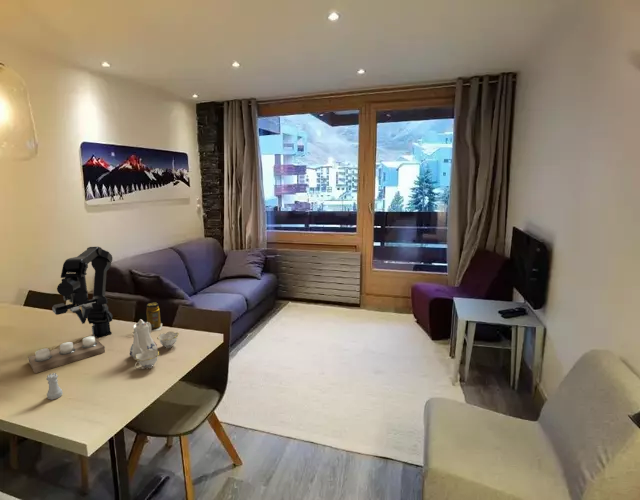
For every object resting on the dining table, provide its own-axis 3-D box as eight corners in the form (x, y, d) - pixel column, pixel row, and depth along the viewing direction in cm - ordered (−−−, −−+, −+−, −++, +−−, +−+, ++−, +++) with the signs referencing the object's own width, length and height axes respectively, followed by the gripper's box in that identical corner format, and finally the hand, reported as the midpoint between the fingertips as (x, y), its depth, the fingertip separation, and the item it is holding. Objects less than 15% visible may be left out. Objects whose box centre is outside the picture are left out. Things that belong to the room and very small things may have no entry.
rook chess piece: (52, 392, 125) (49, 371, 124) (66, 392, 126) (62, 371, 124) (43, 400, 121) (40, 378, 120) (58, 399, 121) (54, 378, 120)
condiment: (162, 323, 185) (160, 301, 183) (161, 330, 177) (159, 306, 175) (146, 325, 182) (144, 302, 180) (144, 332, 175) (142, 308, 172)
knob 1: (48, 354, 147) (47, 347, 146) (51, 357, 144) (50, 350, 143) (35, 358, 144) (34, 351, 143) (37, 361, 141) (36, 354, 140)
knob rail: (96, 343, 163) (95, 337, 162) (105, 352, 155) (104, 346, 154) (29, 362, 146) (28, 356, 145) (34, 373, 138) (33, 367, 137)
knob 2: (93, 341, 158) (92, 335, 158) (96, 344, 155) (95, 338, 155) (82, 344, 155) (81, 338, 155) (84, 348, 152) (84, 341, 152)
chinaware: (157, 377, 139) (158, 336, 135) (112, 373, 138) (112, 333, 134) (181, 344, 166) (182, 309, 163) (144, 341, 165) (144, 306, 162)
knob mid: (72, 347, 153) (71, 341, 152) (74, 351, 150) (74, 344, 149) (59, 351, 150) (58, 344, 149) (62, 354, 147) (61, 347, 146)
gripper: (97, 279, 163) (101, 312, 166) (46, 289, 150) (52, 324, 153) (105, 284, 156) (110, 319, 159) (53, 295, 142) (59, 332, 146)
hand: (83, 323), depth 154 cm, fingers closed
